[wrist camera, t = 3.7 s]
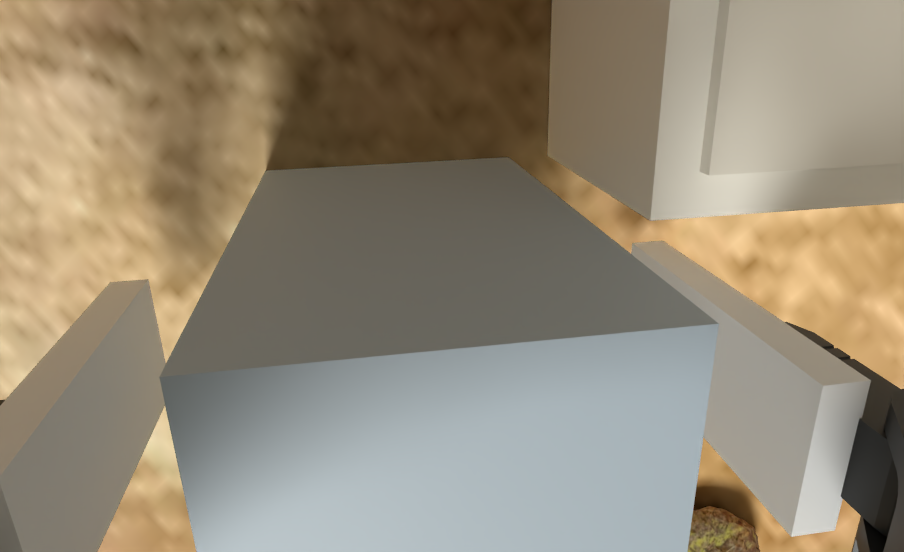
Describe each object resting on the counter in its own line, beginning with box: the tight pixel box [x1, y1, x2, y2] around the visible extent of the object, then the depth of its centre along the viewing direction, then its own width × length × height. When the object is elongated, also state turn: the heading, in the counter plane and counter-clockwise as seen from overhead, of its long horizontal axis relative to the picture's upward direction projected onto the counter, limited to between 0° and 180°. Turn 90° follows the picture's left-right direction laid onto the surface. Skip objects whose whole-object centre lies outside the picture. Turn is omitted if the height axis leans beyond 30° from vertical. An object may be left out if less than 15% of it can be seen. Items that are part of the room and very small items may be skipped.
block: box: [159, 157, 719, 552], centre depth 13 cm, size 6×6×10 cm
